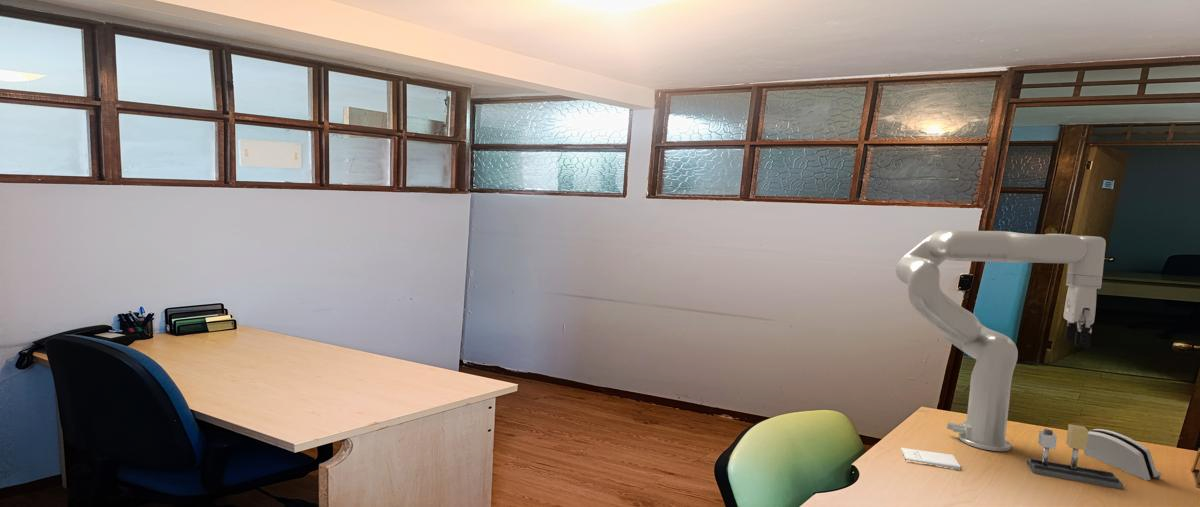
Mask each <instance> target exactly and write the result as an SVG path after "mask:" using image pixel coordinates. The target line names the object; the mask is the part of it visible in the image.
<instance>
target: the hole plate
mask: <svg viewBox="0 0 1200 507" xmlns="http://www.w3.org/2000/svg"><path fill="white" fill-rule="evenodd" d="M1038 431H1039V432H1038V438H1037V439H1038V442H1037V443H1038V444H1039V446H1040V447H1041V448H1043V450H1042V458H1041V459H1037V458H1033V457H1032V458H1028V457H1027V458H1026V464H1027V466H1028V467H1029V468H1030V470H1031V472H1032V473H1033V474H1037V475H1042V476H1048V477H1053V478H1060V479H1064V480H1069V481H1076V482H1081V483H1086V484H1092V485H1098V486H1103V487H1107V488H1114V489H1120V490H1124V483H1123V482H1122V481H1120V479H1119V478H1118V477H1117V476H1116V475H1115V474H1114V473H1113V471H1105V470H1100V469H1095V468H1089V467H1083V466H1078V465H1077V468H1076V469H1072V468H1071V464H1065V463H1061V462H1054V461H1049V455H1050V449H1052V450H1055V449H1057V448H1056V446H1057V439H1058V436H1057V435H1056V434H1055V433H1054V430H1051V429H1049V428H1044V429H1043V430H1038Z"/></svg>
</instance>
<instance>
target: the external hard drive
mask: <svg viewBox="0 0 1200 507" xmlns="http://www.w3.org/2000/svg"><path fill="white" fill-rule="evenodd" d="M900 449H901V450H902V452H903V454H904V456H903V458H904V457H905V459H906V460H910V461H916V462H921V463H927V464H932V465H938V466H942V467H947V468H946V469H948V468H953V469H952V470H954V469H958V470H957V471H961V469H962V468H961V465H960V464H959V462H958V460H957V459H956V458H955V456H954V455H953V454H947V453H942V452H934V451H927V450H921V449H915V448H906V447H900ZM905 459H904V460H905ZM942 467H941V468H942Z"/></svg>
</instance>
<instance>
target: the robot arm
mask: <svg viewBox="0 0 1200 507" xmlns="http://www.w3.org/2000/svg"><path fill="white" fill-rule="evenodd" d="M1106 243H1107V242H1106V239H1105V238H1104V237H1102V236H1094V235H1093V236H1091V235H1074V234H1068V233H1066V234H1065V233H1045V234H1038V233H1037V234H1036V233H1035V234H1034V233H1022V232H1014V231H1006V230H1005V231H1004V230H959V229H958V230H953V229H952V230H951V229H940V230H937V231H935V232H933V233H931V234H930V235H928V237H926V238H925V239H923V240H922V241H921V242H920V243H919V244H917V245H916V246H914V248H912V249H911V250H910V251H908V252H907V253H906V254H905V255H903V256H902V257H901V258H900V260H898V262H897V263H896V265H895V266H896V267H895V274H896V277H897V278H898V280H900V281H901V282H902V283H904V284H906V285H907V293H908V299H909V302H910V305H911V306H912V308H913V309H914V310H915V311H916V312H917V313H918V314H919V315H920V316H921V317H923V318H924V319H926V321H927V322H929V323H930V324H931V327H932V328H933V330H934V332H936V333H937V334H938V335H939V336H941V337H942V338H944V339H945V340H946V341H948V342H949V343H950V344H952V345H953V346H954V347H956V348H957V349H959V350H960V351H961V352H963V353H964V354H965V355H968V356H969V357H971V358H972V359H974V360H976V361H975V364H974V367H973V368H972V371H971V377H970V384H969V396H968V405H967V414H966V415H967V416H966V420H964V421H963V423H962V422H961V423H958V424H957V423H954V422H949V421H948V422H947V423H946V430H949V431H950V430H952V432H954V433H958V439H959V440H960V441H961V442H962V443H964V444H967V445H969V446H972V447H975V448H977V449H982V450H987V451H993V452H1008V451H1010V450H1012V444H1011V442H1010V441H1008V440H1007V439H1006V436H1007V426H1008V416H1009V407H1010V398H1011V387H1012V379H1013V376H1014V375H1013V374H1014V371H1015V368H1016V364H1017V362H1018V357H1019V355H1018V354H1019V351H1018V348H1017V345H1016V343H1015V342H1014V341H1013V340H1012V339H1011V338H1010V337H1009V336H1007V335H1005V334H1004V333H1001V332H999V331H996V330H993V329H990V328H988V327H986V326H985V325H984V324H982V323H981V321H980V320H979V318H978V317H976V315H975V314H974V313H972V311H969V310H968V309H966V308H964V307H963V306H961V305H960V304H959V303H957V302H956V301H954V300H953V299H952V298H950V297H949V296H948V295H946V294H945V293H944V292H943V291H942V288H941V286H940V284H941V283H940V279H941V272H940V268H939V266H940V265H941V264H942V263H943V262H945V261H952V262H953V261H954V262H987V263H988V262H991V263H992V262H993V263H1034V264H1035V263H1042V264H1067V271H1066V283H1065V286H1067V287H1068V288H1067V292H1066V297H1065V303H1064V309H1063V319H1064V320H1066V325H1065V326H1066V327H1065V337H1064V339H1065V340H1066V341H1072V342H1074V346H1075V347H1076V348H1077V347H1078V348H1087V349H1089V348H1090V347H1091V340H1092V332H1093V330H1092V328H1093V324H1094V323H1095V318H1096V317H1095V316H1096V309H1097V308H1096V307H1097V297H1098V296H1097V290H1099V289H1102V284H1103V275H1104V274H1103V273H1104V264H1105V254H1106V246H1107V244H1106Z"/></svg>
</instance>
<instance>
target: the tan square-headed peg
mask: <svg viewBox="0 0 1200 507" xmlns="http://www.w3.org/2000/svg"><path fill="white" fill-rule="evenodd" d="M1067 427H1068V428H1067V434H1066V435H1067V436H1066V441H1065V443H1066V445H1067V446H1068V447H1069V448H1071V449H1072V451H1071V452H1072V453H1071V460H1070V465H1071V468H1072V469H1076V468H1077V466H1078V459H1079V451H1080V450H1082V451H1084V450H1086V445H1087V437H1088V431H1089V430H1088V428H1086V427H1085V426H1084V425H1079V424H1078V425H1076V424H1072V423H1071V424H1070V423H1068V426H1067Z"/></svg>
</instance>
